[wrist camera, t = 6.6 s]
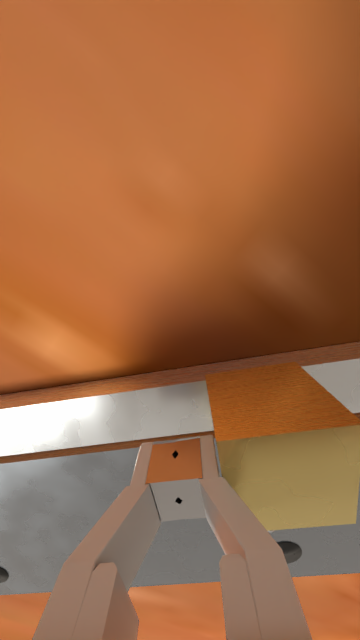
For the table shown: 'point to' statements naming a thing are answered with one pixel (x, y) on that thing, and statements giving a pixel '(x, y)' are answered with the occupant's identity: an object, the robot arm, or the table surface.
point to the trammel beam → (151, 402)
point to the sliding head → (286, 446)
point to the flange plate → (97, 496)
